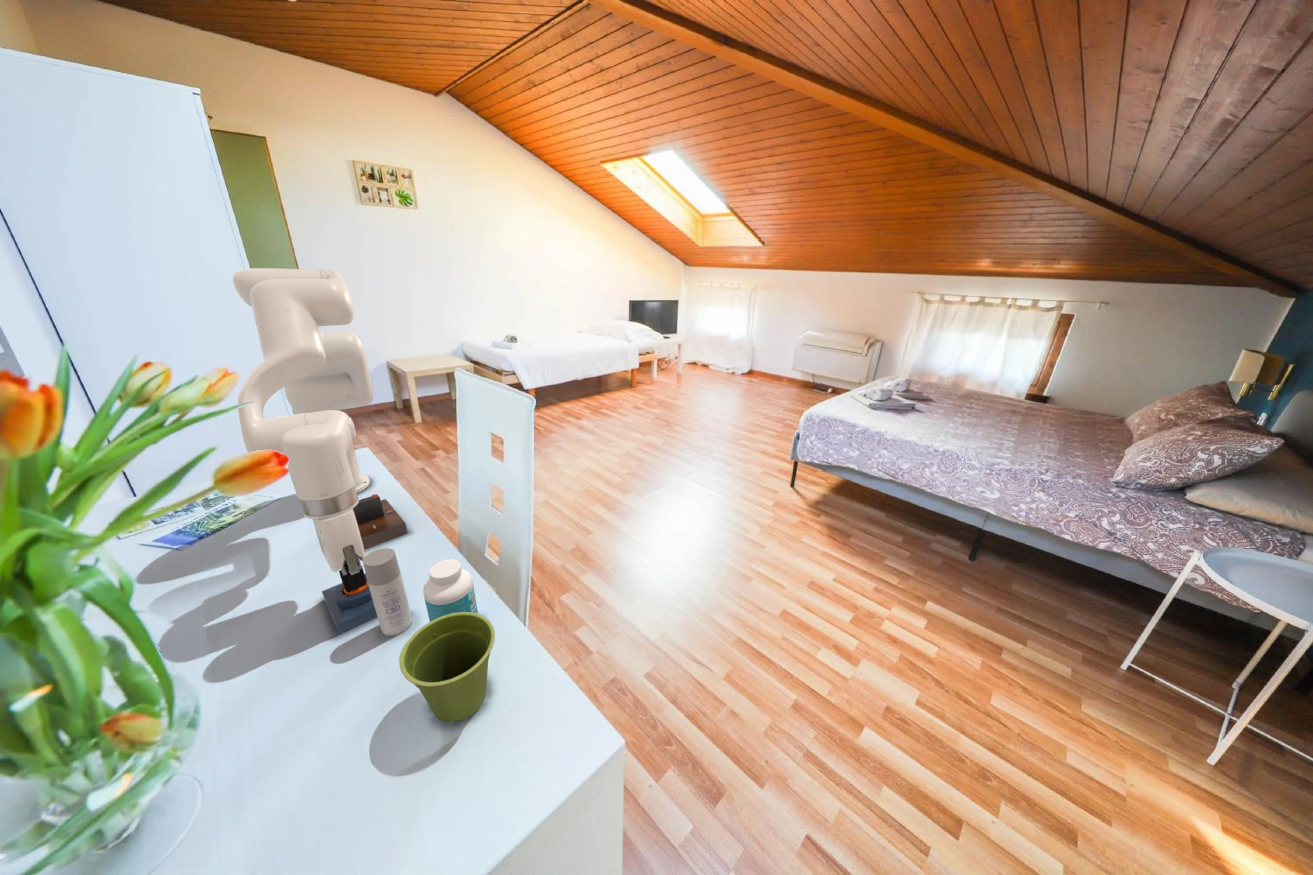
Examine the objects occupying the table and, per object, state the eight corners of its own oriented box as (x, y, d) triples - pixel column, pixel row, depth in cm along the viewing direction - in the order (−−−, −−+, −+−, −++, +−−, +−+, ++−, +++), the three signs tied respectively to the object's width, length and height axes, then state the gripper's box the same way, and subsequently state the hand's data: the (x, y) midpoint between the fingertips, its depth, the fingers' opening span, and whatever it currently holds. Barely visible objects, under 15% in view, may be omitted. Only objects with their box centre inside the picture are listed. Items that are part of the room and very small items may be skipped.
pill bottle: (485, 633, 74) (476, 571, 69) (439, 655, 70) (425, 591, 64) (472, 607, 79) (462, 548, 74) (428, 626, 75) (414, 564, 70)
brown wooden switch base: (335, 526, 100) (332, 514, 99) (388, 509, 107) (385, 498, 106) (352, 554, 91) (348, 542, 90) (407, 533, 99) (405, 522, 97)
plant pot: (395, 722, 60) (377, 665, 55) (458, 655, 70) (448, 602, 65) (462, 756, 56) (449, 698, 52) (519, 679, 66) (512, 626, 62)
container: (393, 640, 72) (374, 569, 66) (375, 630, 74) (355, 560, 68) (418, 621, 76) (402, 552, 70) (400, 611, 78) (383, 544, 72)
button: (343, 593, 78) (341, 585, 77) (366, 583, 80) (364, 576, 80) (349, 603, 76) (346, 596, 75) (372, 593, 78) (370, 586, 77)
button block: (324, 600, 79) (318, 583, 78) (379, 577, 85) (375, 561, 84) (339, 635, 72) (333, 617, 71) (398, 607, 79) (393, 590, 77)
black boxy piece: (354, 525, 96) (348, 505, 94) (352, 522, 97) (346, 502, 95) (384, 515, 100) (379, 496, 98) (382, 512, 101) (377, 493, 99)
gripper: (292, 489, 72) (321, 575, 79) (310, 527, 63) (341, 621, 70) (344, 475, 77) (367, 557, 84) (369, 508, 68) (392, 597, 75)
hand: (355, 586), depth 77 cm, fingers closed
